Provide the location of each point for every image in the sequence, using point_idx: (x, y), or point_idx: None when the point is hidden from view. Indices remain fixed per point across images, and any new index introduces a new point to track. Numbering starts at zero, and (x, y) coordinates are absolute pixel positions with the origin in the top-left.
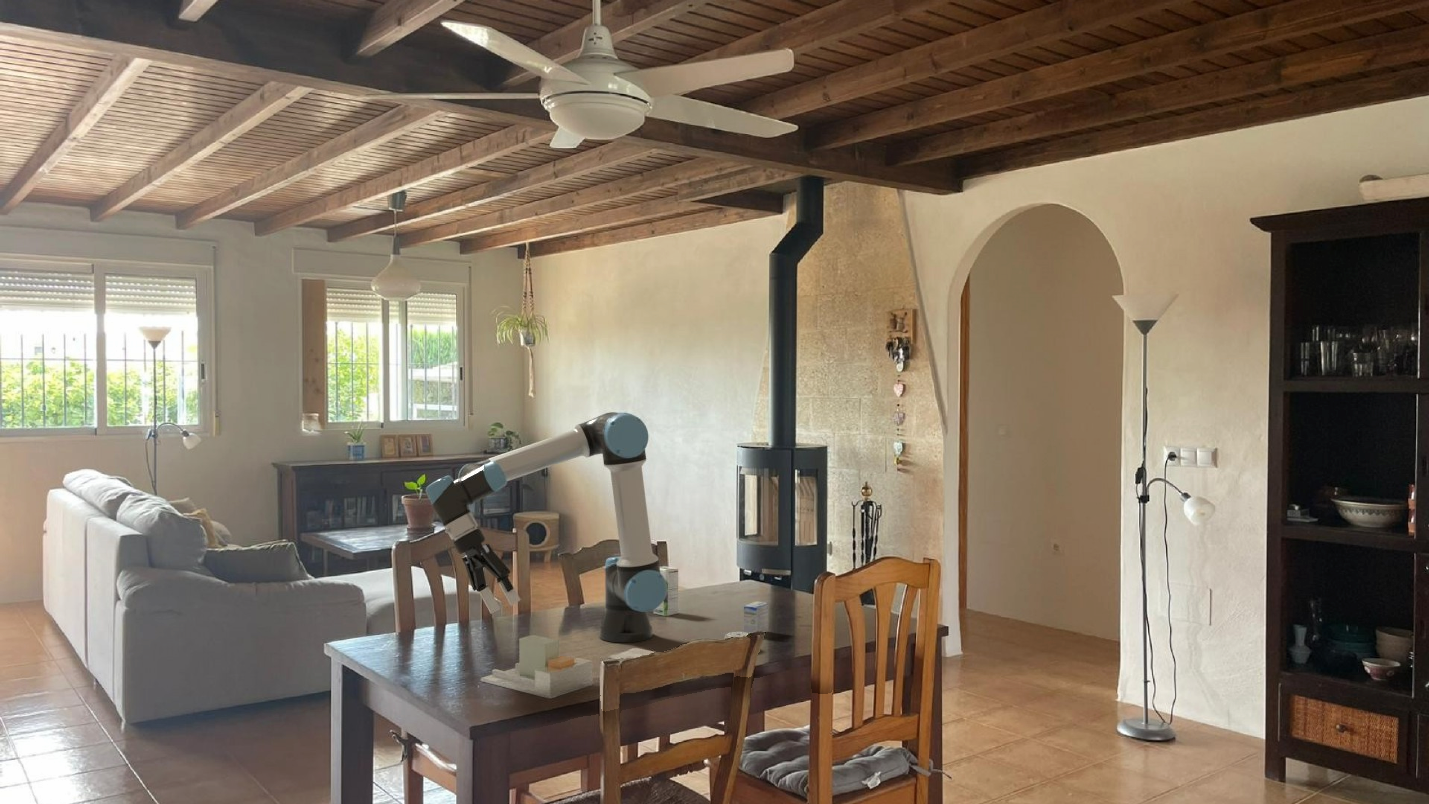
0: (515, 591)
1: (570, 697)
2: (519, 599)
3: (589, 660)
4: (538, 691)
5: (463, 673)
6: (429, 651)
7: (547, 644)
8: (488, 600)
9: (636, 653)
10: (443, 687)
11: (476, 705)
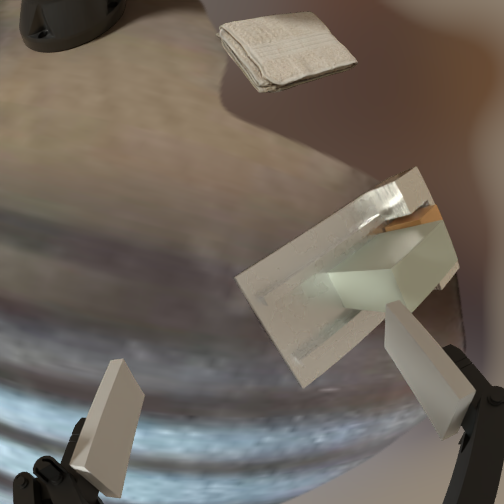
0: (424, 330)
1: None
2: (401, 306)
3: (414, 169)
4: None
5: (221, 420)
6: (7, 448)
7: (454, 253)
8: (123, 433)
9: (270, 40)
10: (310, 450)
11: None
